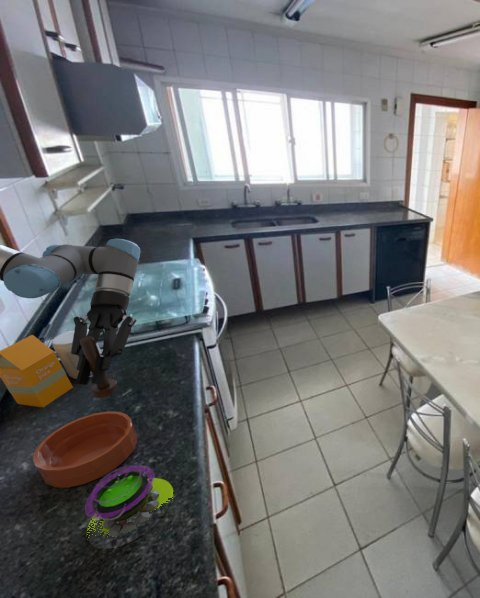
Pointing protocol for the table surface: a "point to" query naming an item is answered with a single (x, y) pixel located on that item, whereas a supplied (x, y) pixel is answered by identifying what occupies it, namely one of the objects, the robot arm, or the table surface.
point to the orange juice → (33, 373)
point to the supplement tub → (68, 352)
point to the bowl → (85, 449)
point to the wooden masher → (92, 356)
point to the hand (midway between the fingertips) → (89, 383)
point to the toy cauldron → (127, 500)
